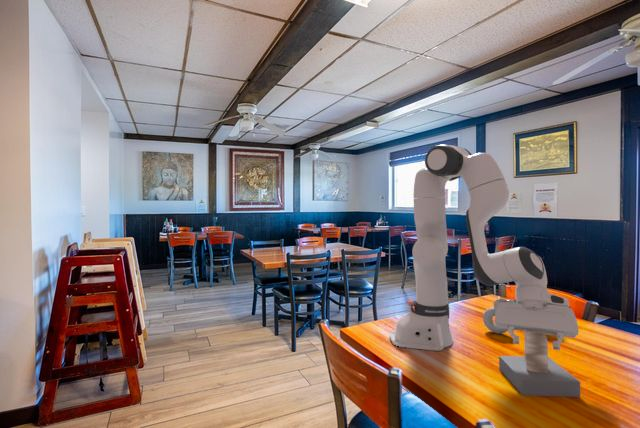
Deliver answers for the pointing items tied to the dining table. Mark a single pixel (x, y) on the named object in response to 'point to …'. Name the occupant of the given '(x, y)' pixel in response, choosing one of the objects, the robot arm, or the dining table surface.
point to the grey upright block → (536, 352)
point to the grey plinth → (539, 378)
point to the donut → (489, 322)
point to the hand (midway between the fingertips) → (536, 346)
